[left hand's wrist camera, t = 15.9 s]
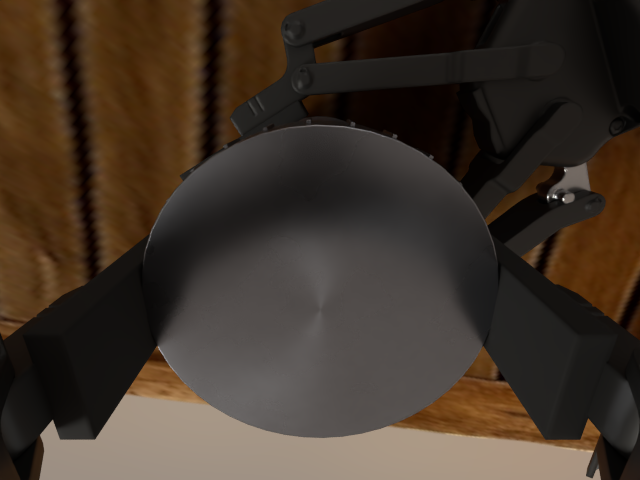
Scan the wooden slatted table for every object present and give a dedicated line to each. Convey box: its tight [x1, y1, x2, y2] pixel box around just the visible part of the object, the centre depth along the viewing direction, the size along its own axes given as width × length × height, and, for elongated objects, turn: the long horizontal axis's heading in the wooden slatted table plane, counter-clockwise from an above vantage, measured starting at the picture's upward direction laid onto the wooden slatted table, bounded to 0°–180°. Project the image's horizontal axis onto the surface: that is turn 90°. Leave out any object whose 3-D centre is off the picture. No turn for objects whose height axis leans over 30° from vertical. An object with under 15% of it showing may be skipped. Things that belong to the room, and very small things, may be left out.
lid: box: [142, 117, 499, 438], centre depth 11 cm, size 10×10×2 cm
